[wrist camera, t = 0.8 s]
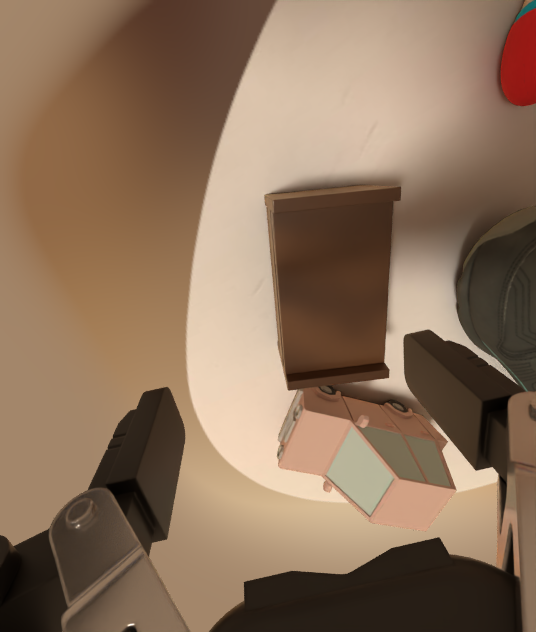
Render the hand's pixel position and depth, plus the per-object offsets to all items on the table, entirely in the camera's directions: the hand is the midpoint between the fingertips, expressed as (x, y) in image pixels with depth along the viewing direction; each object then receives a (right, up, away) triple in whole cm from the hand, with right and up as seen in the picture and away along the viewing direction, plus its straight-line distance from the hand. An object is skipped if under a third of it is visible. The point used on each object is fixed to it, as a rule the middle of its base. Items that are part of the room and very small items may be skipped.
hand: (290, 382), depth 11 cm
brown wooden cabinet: (+4, +6, +18) cm, 19 cm away
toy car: (+8, -9, +25) cm, 28 cm away
